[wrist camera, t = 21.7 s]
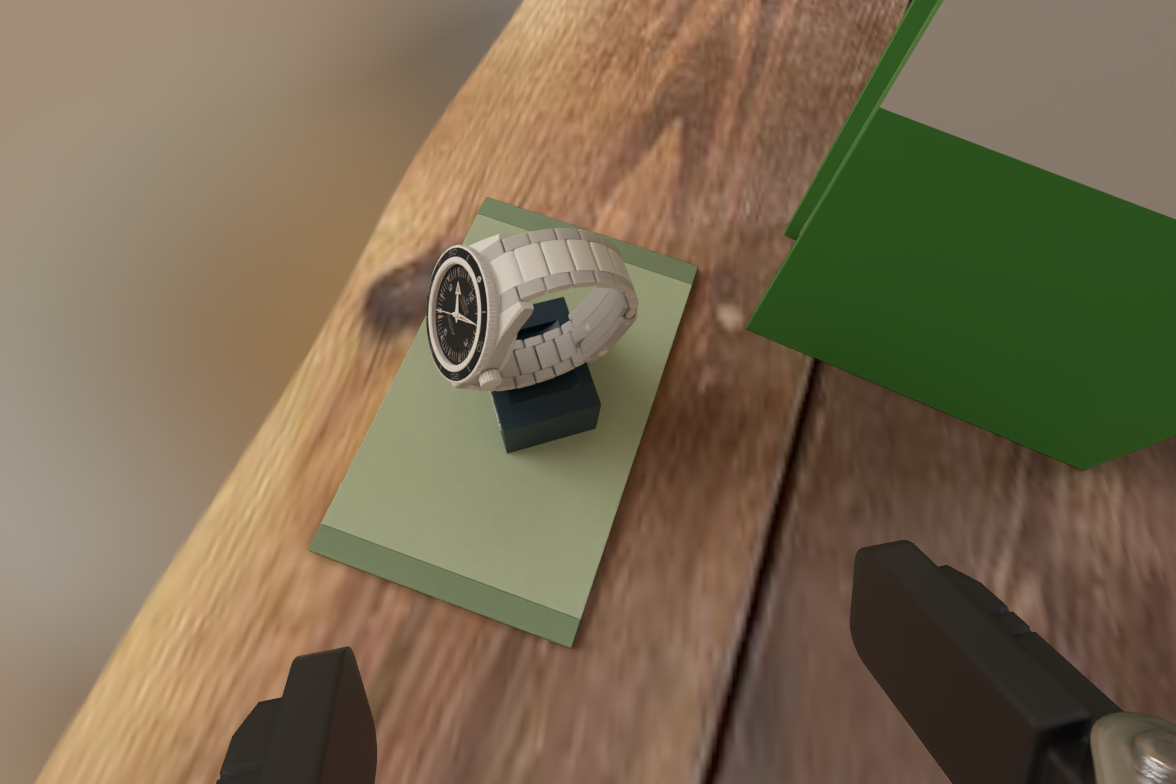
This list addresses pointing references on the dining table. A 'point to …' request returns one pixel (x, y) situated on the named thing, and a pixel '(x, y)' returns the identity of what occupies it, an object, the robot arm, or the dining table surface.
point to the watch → (529, 327)
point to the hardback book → (1003, 225)
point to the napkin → (504, 467)
